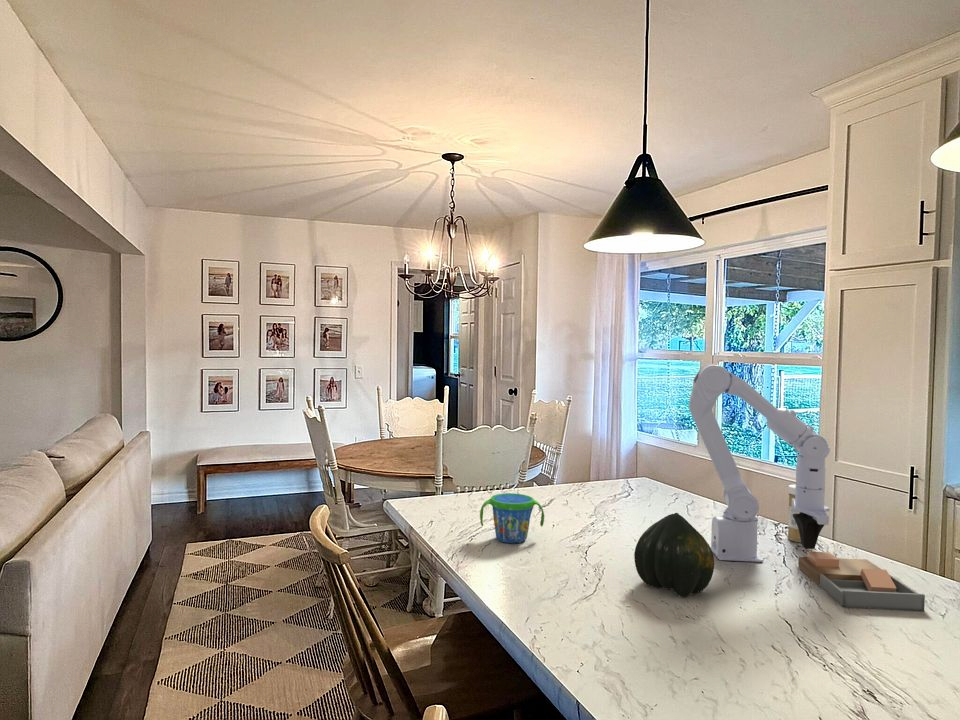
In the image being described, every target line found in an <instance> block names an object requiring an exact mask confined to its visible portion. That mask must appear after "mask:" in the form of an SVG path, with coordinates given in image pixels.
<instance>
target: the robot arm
mask: <svg viewBox="0 0 960 720" xmlns="http://www.w3.org/2000/svg"><path fill="white" fill-rule="evenodd" d="M723 393H725V394H727V395H731V396H736V397H739V399H741V400H742V401H744V402H745V403H746V404H747V405H749V406H750V407H751V408H752V409H754V410H755V411H756V412H758V413H759V414H761V415H762V416H763V417H764V418H766V425H767V428H768V429H769V430H771V431H772V432H773V433H774V434H775V435H777V437H779V438H780V439H781V440H783V441H784V442H785V443H786V444H787V445H788V446H790V447H793V449H794V451H795V452H796V454H797V455H796V465H795V485H796V492H795V499H792V507H793V508H794V509H795V510H797V511H800V513H799V514H793V518H794V519H795V521H796V524H797V526H798V530H799V534H800V538H801V542H800V544H801V545H802V548H804V549H805V550H815V549H816V545H817V542H818V539H819V536H820V535H821V534H820V533H821V532H822V529H823V528H824V527H825V526H829V524H830V520H829V519H830V515H828V514H827V512H831V508H830V507H829V506H825V499H826V497H825V496H826V495H825V493H826V492H825V491H826V490H825V489H826V458H827V457H828V456H829V454H830V452H831V448H830V447H829V444H828V442H827V440H826V439H825V438H824V437H823V436H821V435H820V434H818V433H816V432H815V431H814V430H815V428H814V427H813V426H812V425H808V424H807V423H805V422H804V421H802V420H801V419H800V418H799V417H797V414H798V413H797V412H796V411H795V410H793V409H788V408H785V407H780V408H779V407H778V408H777V407H776V406H774V405H773V404H772V403H771V402H770V401H769V400H767V399H766V398H765V397H764V396H763V395H762V394H761V393H759V392H758V391H757V390H756V389H755V388H754V387H752V386H751V385H750V383H748V382H747V381H745V380H744V379H742V378H741V377H739V376H737V375H736V374H734V373H732V372H730V371H728V370H727V369H726V368H725V367H723V366H721V365H718V364H715V363H707V364H705V365H703V366H702V367H700V369H699V370H698V372H697V373H696V375H695V377H694V378H693V381H692V389H691V392H690V398H689V402H688V409H689V412H690V414H691V416H692V419H693V421H694V424H695V425H696V428H697V430H698V433H699V435H700V437H701V439H702V442H703V444H704V446H705V448H706V450H707V453H708V455H709V457H710V460H711V461H712V465H713V467H714V469H715V471H716V473H717V475H718V477H719V480H720V483H721V485H722V487H723V488H722V489H723V491H724V492H723V501H724V503H725V504H726V506H727V507H726V508H725V510H724V511H723V515H719V516H717V515H715V516H713V517H712V520H711V533H710V534H711V535H710V536H711V541H710V543H711V545H710V547H711V549H712V552H713V555H715V557H716V558H717V559H718V560H720V561H733V562H735V561H736V562H756V563H757V562H758V563H762V562H764V559H763V558H762V557H761V556H760V555H759V554H758V519H759V516H758V513H759V509H760V504H759V501H758V499H757V498H756V497H755V496H754V495H753V492H752V491H751V489H750V488H749V487H748V486H747V485H746V483H745V480H744V479H743V477H742V475H741V473H740V470H739V468H738V466H737V464H736V462H735V459H734V457H733V455H732V453H731V451H730V448H729V445H728V444H727V441H726V439H725V436H724V434H723V433H722V429H721V428H720V425H719V423H718V421H717V418H716V416H715V414H714V411H713V408H714V406H715V405H716V402H717V400H718V398H719V397H720V396H721V395H722V394H723Z"/></svg>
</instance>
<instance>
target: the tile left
mask: <svg viewBox="0 0 960 720" xmlns="http://www.w3.org/2000/svg"><path fill="white" fill-rule="evenodd" d="M806 557H807V559H808V560H809V561H810V562H812V563H813V564H814V565H815V566H822V567H839V559H838V558H839V557H836V556H835V555H834V554H832V553H831V552H828V551H810V550H809V551H808V550H807V551H806Z"/></svg>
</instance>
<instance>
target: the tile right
mask: <svg viewBox="0 0 960 720" xmlns="http://www.w3.org/2000/svg"><path fill="white" fill-rule="evenodd" d="M880 569H881V568H880ZM880 569H862V570H861V573H860V575H861V577H862V579H863V581H864V583H865V585H866V587H867V589H868V591H873V592H894V593H895V591H896V589H897V588H896V586H895V584H894V583H893V581H892V579H891V577H890V574H889V571H888V570H887V569H882V570H880Z"/></svg>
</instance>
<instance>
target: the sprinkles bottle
mask: <svg viewBox="0 0 960 720" xmlns="http://www.w3.org/2000/svg"><path fill="white" fill-rule="evenodd" d="M787 490H788V492H787V493H788V508H787V509H788V510H787V511H788V512H787V513H788V514H787V515H788V517H787V519H788V520H787V528H788V529H787V539H788V541H789V540H790V541H791V542H795V543H801V538H800V534H799V530H798V526H797V524H796V521H795V519H794V518H793V514H799V513H800V511H797V510H795V509H794V508H793V507H792V499H795V492H796V484H789V485H788V489H787Z"/></svg>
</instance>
